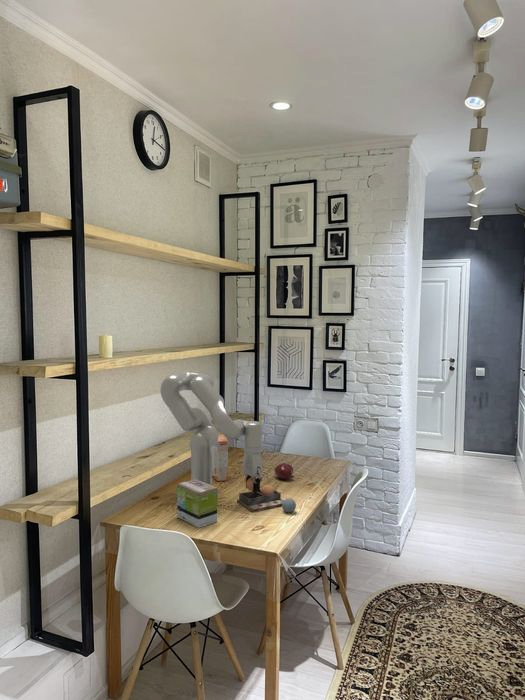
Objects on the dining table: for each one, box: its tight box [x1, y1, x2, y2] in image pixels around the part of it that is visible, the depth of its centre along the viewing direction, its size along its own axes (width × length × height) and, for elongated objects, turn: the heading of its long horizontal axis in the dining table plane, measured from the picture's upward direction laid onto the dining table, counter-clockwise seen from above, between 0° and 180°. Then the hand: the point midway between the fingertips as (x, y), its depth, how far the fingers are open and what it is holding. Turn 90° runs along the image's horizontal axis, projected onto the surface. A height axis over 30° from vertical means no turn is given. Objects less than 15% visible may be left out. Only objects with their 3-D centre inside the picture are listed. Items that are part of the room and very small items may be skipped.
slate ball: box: [281, 497, 297, 514], centre depth 227 cm, size 6×6×6 cm
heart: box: [273, 462, 294, 481], centre depth 275 cm, size 12×8×10 cm
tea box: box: [176, 479, 218, 529], centre depth 217 cm, size 15×10×15 cm
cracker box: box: [211, 434, 229, 482], centre depth 274 cm, size 14×6×21 cm, turn 22°
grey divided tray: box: [236, 489, 285, 514], centre depth 237 cm, size 18×14×4 cm
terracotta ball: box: [245, 477, 258, 492], centre depth 236 cm, size 6×6×6 cm
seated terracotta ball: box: [260, 484, 275, 496], centre depth 240 cm, size 6×6×6 cm
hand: (252, 488), depth 236 cm, fingers closed on terracotta ball, 5 cm apart
